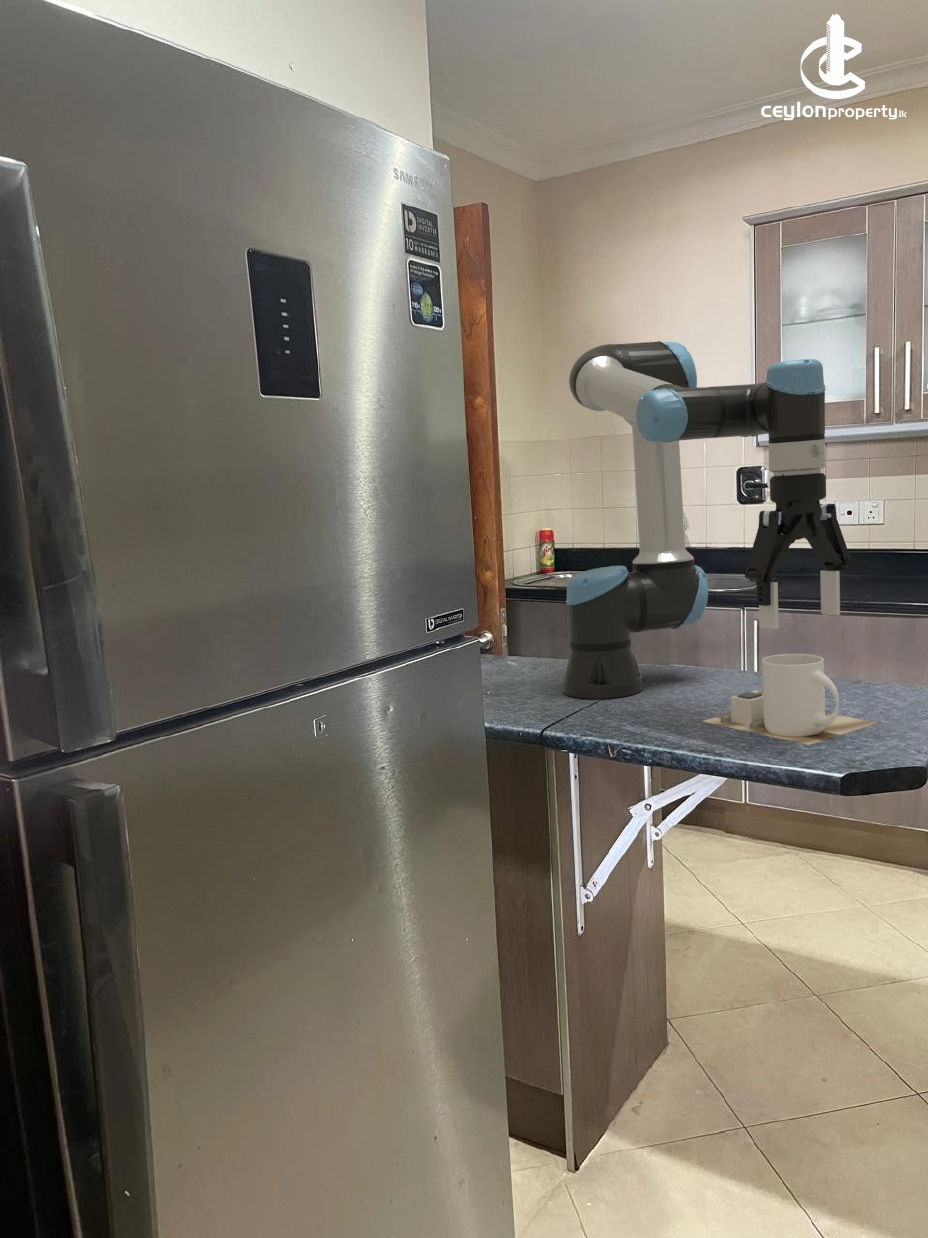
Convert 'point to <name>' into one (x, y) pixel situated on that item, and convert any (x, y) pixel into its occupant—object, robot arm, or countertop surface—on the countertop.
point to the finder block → (747, 708)
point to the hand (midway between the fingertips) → (800, 621)
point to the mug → (796, 695)
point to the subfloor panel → (831, 730)
